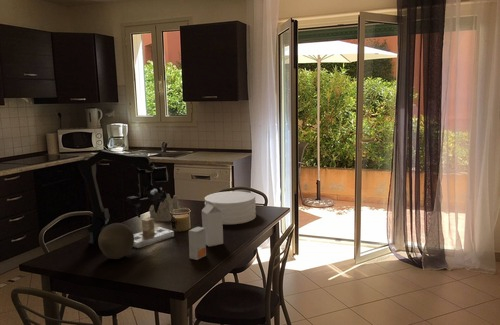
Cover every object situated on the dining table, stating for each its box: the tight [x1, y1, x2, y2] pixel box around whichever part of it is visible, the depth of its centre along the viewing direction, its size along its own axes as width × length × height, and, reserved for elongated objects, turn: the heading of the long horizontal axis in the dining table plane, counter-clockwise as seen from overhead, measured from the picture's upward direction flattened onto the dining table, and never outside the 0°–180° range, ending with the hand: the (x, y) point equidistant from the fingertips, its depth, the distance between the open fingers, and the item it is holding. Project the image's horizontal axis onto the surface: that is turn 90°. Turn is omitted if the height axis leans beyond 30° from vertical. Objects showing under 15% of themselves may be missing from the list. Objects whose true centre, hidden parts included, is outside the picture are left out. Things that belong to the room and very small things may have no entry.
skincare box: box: [188, 226, 207, 261], centre depth 162 cm, size 6×4×12 cm
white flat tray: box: [132, 226, 175, 249], centre depth 186 cm, size 20×12×3 cm, turn 138°
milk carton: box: [201, 201, 224, 247], centre depth 177 cm, size 7×7×19 cm
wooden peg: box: [141, 216, 155, 237], centre depth 185 cm, size 4×4×10 cm
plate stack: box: [204, 190, 257, 225], centre depth 219 cm, size 28×28×12 cm
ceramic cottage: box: [148, 193, 181, 222], centre depth 221 cm, size 16×16×15 cm
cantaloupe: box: [98, 222, 134, 260], centre depth 162 cm, size 14×14×15 cm
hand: (147, 215), depth 184 cm, fingers open, 9 cm apart
